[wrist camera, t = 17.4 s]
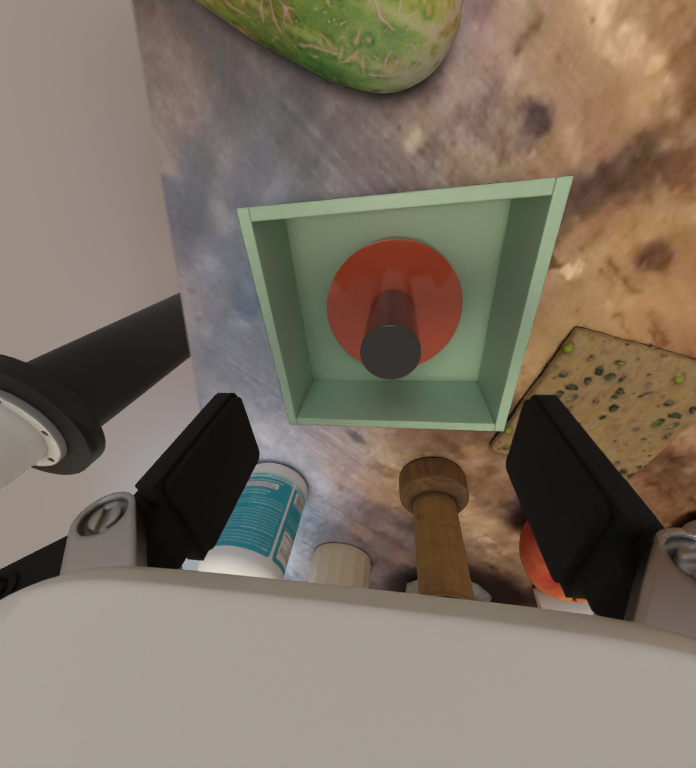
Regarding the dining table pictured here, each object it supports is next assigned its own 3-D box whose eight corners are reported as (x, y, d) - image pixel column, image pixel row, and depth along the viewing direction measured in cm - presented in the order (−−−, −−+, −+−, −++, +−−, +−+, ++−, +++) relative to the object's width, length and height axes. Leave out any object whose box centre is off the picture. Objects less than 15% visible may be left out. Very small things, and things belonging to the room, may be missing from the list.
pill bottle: (234, 474, 34) (155, 611, 23) (274, 449, 31) (203, 596, 20) (281, 508, 37) (230, 647, 25) (322, 489, 33) (284, 639, 22)
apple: (544, 545, 33) (580, 634, 26) (492, 520, 32) (517, 606, 25) (605, 516, 29) (666, 611, 22) (548, 486, 28) (595, 577, 21)
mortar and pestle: (461, 501, 31) (518, 787, 16) (399, 497, 32) (399, 761, 17) (469, 458, 27) (552, 772, 13) (399, 455, 29) (399, 741, 14)
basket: (309, 382, 25) (289, 424, 21) (277, 204, 18) (235, 208, 14) (482, 383, 23) (503, 431, 18) (523, 180, 16) (574, 175, 11)
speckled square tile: (747, 371, 19) (762, 378, 19) (614, 481, 26) (621, 490, 25) (575, 323, 19) (582, 329, 19) (486, 446, 26) (489, 454, 25)
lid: (336, 363, 23) (315, 420, 17) (322, 241, 18) (286, 264, 13) (452, 362, 22) (471, 425, 16) (468, 230, 17) (505, 250, 11)
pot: (318, 569, 44) (307, 617, 39) (309, 539, 40) (297, 589, 35) (372, 576, 43) (368, 626, 38) (369, 546, 38) (365, 598, 33)
